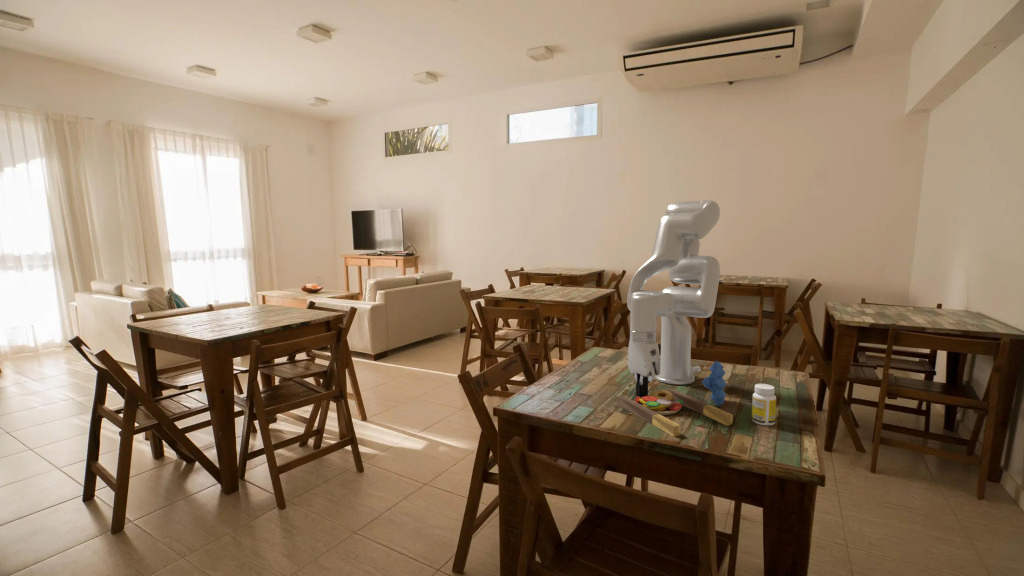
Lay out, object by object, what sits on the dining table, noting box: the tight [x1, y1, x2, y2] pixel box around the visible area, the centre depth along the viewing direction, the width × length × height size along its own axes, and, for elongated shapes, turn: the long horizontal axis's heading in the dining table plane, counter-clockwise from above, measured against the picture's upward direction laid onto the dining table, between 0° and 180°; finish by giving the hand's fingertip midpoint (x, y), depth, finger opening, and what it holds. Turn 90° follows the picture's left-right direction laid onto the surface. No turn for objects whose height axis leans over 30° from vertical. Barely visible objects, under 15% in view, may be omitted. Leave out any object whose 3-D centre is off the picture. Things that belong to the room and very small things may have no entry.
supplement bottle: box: [751, 383, 777, 426], centre depth 122 cm, size 6×5×10 cm
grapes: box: [701, 360, 727, 406], centre depth 137 cm, size 12×7×12 cm, turn 166°
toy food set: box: [634, 389, 683, 416], centre depth 134 cm, size 13×13×3 cm
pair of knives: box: [616, 387, 734, 437], centre depth 129 cm, size 19×24×2 cm
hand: (641, 395), depth 141 cm, fingers closed
